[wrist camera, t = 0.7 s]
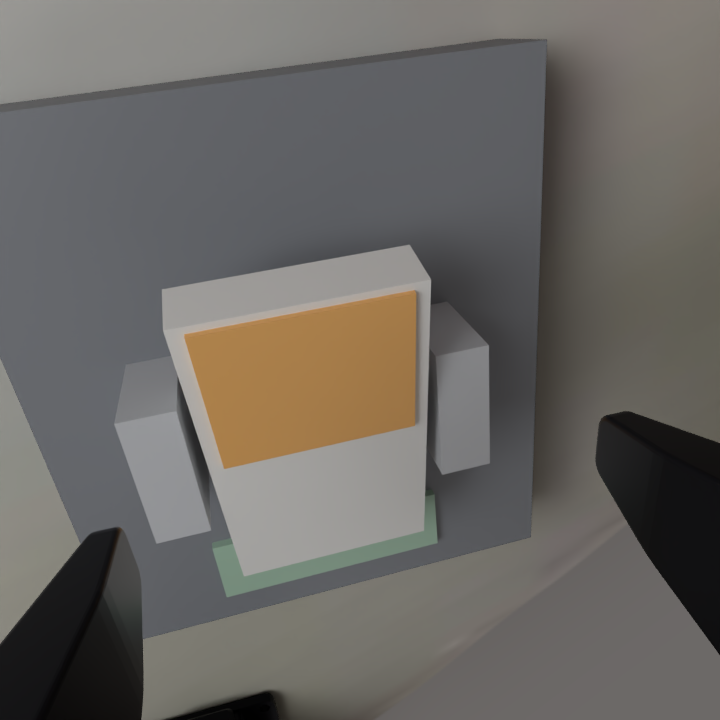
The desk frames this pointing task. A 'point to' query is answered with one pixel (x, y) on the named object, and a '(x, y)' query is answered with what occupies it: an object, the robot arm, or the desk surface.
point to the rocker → (309, 401)
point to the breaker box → (266, 252)
